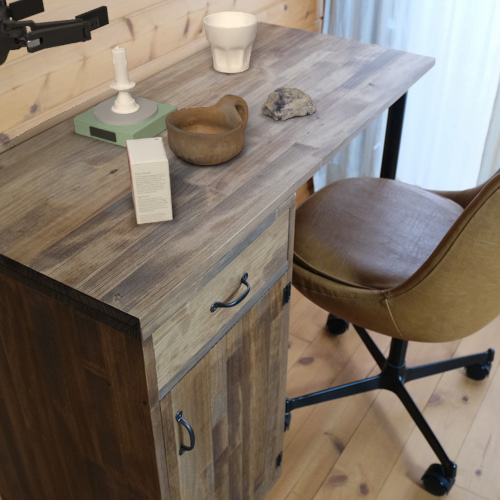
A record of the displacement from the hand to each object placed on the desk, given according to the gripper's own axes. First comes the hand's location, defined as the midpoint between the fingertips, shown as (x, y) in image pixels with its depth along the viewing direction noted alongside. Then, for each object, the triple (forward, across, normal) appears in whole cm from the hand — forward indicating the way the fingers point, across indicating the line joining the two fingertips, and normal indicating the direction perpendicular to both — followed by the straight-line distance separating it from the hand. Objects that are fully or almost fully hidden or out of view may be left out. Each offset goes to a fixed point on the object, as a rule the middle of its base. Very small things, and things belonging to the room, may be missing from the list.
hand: (73, 8), depth 104 cm
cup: (+48, +1, -25) cm, 54 cm away
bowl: (+9, +20, -25) cm, 33 cm away
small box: (-12, +22, -25) cm, 35 cm away
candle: (+10, 0, -21) cm, 23 cm away
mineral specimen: (+30, +25, -25) cm, 46 cm away
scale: (+10, 0, -25) cm, 27 cm away
